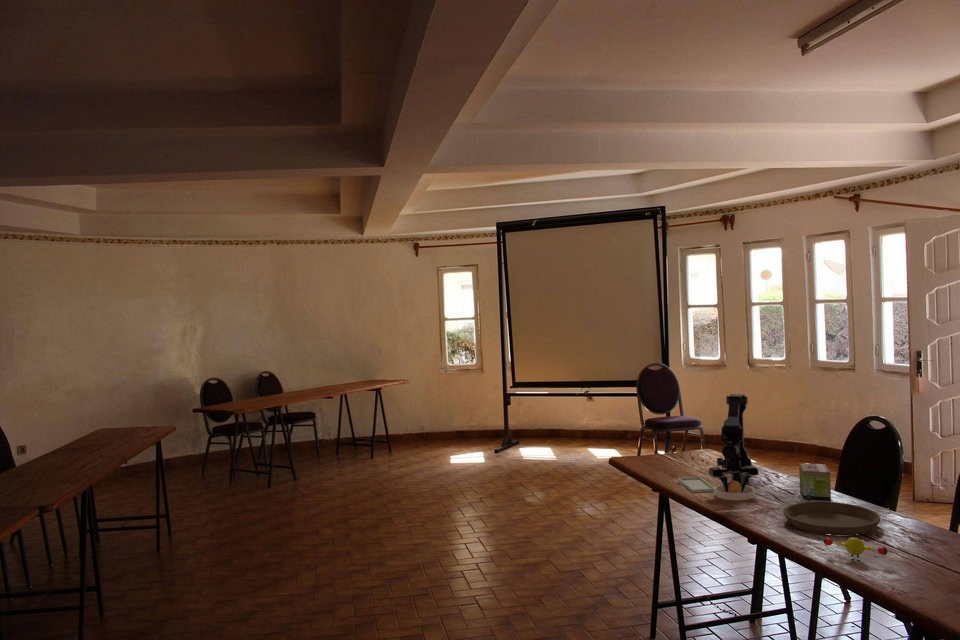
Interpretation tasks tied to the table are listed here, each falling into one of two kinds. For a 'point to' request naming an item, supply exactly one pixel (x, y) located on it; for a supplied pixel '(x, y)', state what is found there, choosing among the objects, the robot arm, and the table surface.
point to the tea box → (815, 483)
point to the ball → (734, 487)
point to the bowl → (745, 495)
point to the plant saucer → (831, 518)
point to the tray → (696, 484)
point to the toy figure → (855, 546)
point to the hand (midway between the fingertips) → (734, 492)
